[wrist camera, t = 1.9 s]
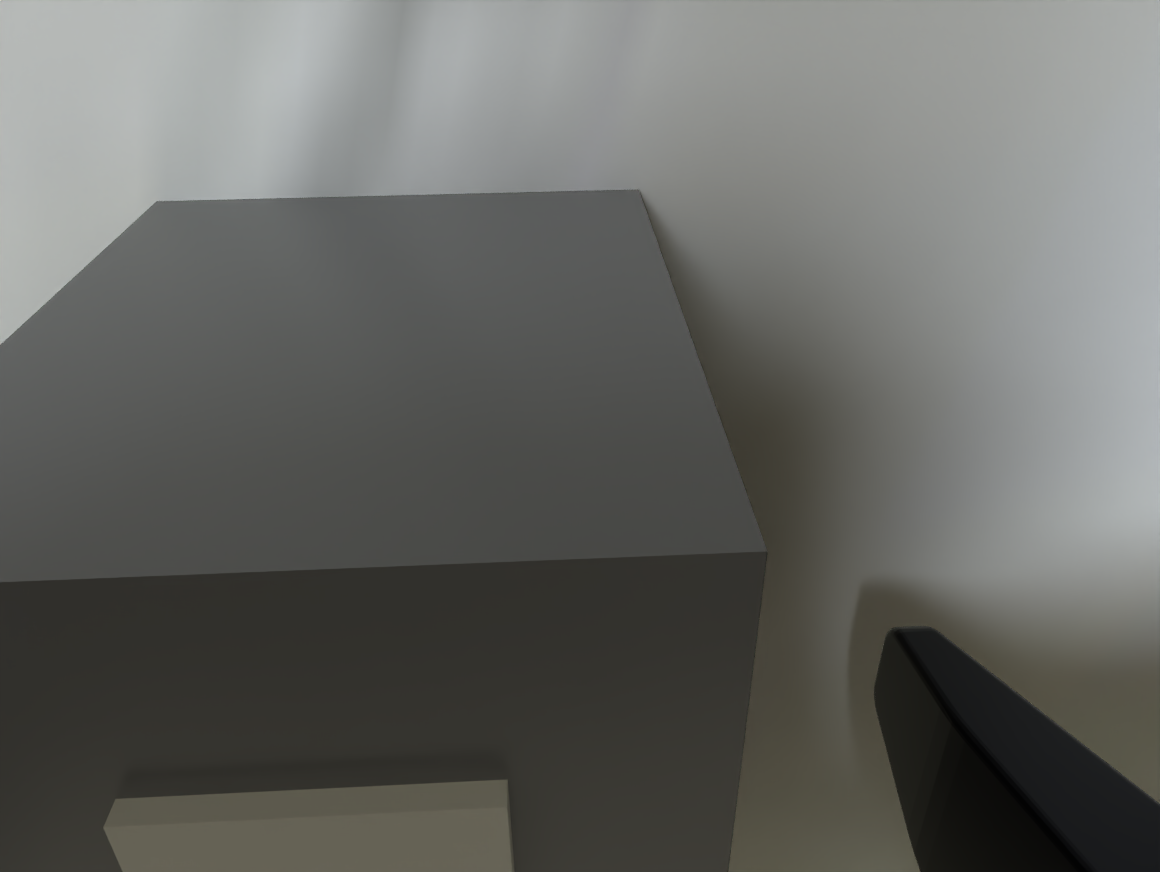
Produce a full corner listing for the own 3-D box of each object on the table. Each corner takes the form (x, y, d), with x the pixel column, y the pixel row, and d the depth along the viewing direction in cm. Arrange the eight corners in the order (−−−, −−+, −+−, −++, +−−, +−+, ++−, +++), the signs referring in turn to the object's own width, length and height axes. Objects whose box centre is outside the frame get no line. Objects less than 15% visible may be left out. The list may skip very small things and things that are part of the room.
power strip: (637, 185, 8) (774, 576, 4) (621, 839, 13) (674, 1356, 8) (163, 195, 8) (-302, 620, 3) (326, 855, 13) (218, 1389, 8)
